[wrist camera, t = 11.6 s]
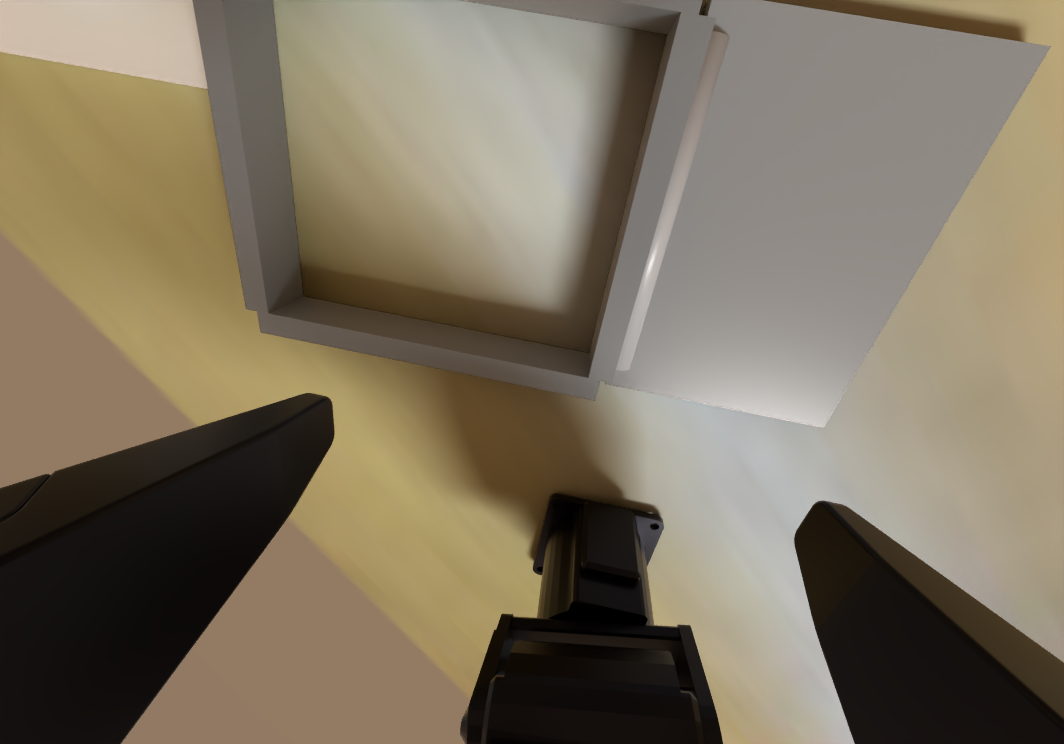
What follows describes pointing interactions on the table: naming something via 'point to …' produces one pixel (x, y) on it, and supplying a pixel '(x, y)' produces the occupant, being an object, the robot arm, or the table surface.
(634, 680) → the robot arm
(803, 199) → the grey piece
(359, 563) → the table surface
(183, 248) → the table surface
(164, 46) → the pale beige square mat
